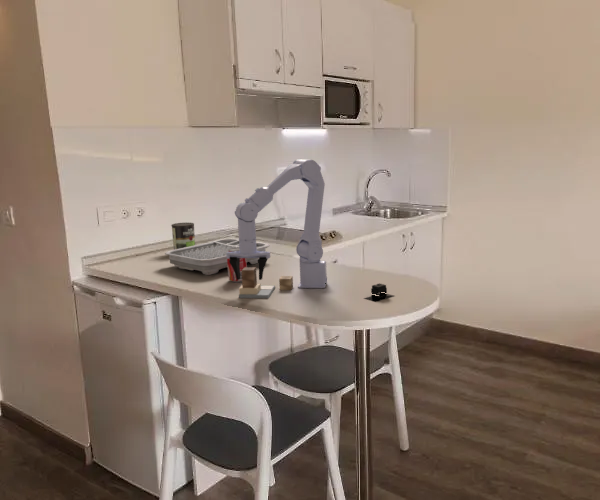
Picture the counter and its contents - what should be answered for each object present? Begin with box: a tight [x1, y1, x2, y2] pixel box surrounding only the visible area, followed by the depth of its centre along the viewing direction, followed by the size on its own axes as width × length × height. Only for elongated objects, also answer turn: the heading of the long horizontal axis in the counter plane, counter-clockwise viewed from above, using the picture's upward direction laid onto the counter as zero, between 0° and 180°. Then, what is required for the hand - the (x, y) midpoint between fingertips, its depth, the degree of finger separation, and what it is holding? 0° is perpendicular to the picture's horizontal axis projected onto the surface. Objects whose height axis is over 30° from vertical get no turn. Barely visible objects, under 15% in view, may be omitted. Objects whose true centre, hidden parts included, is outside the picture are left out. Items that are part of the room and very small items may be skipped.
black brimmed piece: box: [363, 283, 395, 303], centre depth 173 cm, size 12×7×5 cm, turn 129°
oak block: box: [278, 275, 294, 291], centre depth 187 cm, size 4×4×4 cm
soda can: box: [227, 248, 248, 283], centre depth 199 cm, size 7×7×12 cm
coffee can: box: [170, 222, 196, 250], centre depth 250 cm, size 10×10×14 cm
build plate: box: [238, 283, 276, 299], centre depth 183 cm, size 10×12×3 cm
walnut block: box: [241, 266, 258, 288], centre depth 180 cm, size 4×4×6 cm
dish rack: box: [164, 238, 270, 276], centre depth 226 cm, size 32×37×8 cm
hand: (249, 279), depth 180 cm, fingers open, 7 cm apart
